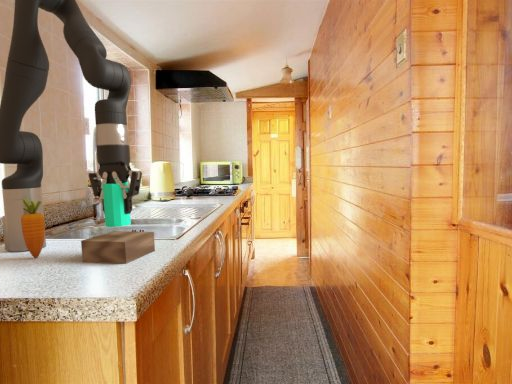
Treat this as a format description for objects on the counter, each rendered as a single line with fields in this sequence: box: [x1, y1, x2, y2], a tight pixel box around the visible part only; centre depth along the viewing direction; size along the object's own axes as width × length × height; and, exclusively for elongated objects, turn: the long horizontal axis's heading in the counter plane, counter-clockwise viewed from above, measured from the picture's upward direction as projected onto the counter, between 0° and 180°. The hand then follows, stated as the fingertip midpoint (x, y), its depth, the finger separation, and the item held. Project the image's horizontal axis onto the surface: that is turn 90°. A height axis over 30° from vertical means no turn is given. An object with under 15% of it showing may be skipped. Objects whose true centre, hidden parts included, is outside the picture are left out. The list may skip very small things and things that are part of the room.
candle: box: [102, 182, 132, 228], centre depth 85 cm, size 6×6×12 cm
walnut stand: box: [80, 230, 156, 264], centre depth 86 cm, size 12×12×5 cm
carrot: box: [21, 199, 46, 259], centre depth 87 cm, size 5×5×15 cm
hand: (117, 213), depth 86 cm, fingers closed on candle, 4 cm apart
